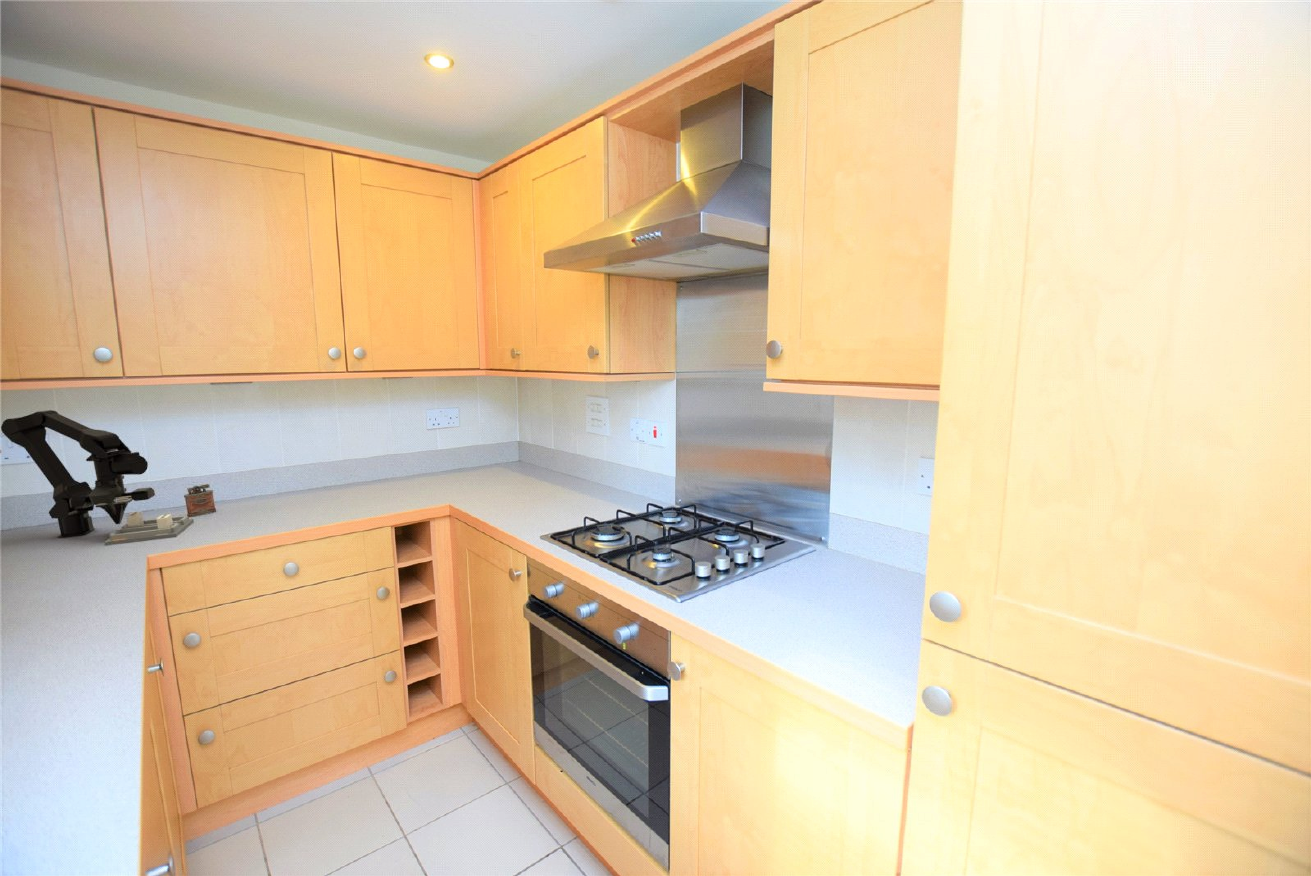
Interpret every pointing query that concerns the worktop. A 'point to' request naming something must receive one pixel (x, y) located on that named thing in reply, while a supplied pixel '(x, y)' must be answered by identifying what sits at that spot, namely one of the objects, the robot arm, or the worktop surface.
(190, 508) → the lighter
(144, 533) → the switch bank
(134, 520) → the tab
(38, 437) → the robot arm
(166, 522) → the tab
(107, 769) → the worktop surface
